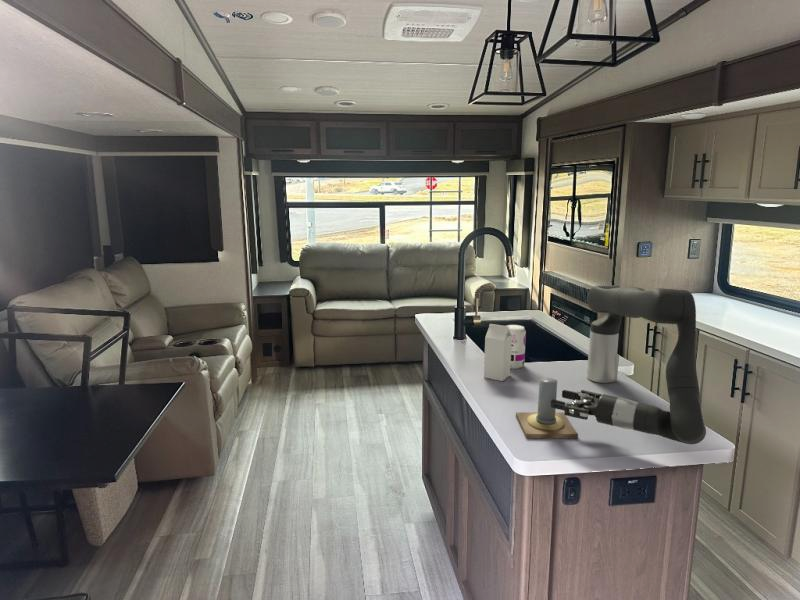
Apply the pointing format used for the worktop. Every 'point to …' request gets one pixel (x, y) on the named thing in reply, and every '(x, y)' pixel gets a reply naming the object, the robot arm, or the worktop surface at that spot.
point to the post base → (545, 426)
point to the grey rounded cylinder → (546, 401)
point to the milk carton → (497, 352)
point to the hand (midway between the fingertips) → (557, 398)
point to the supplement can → (517, 346)
